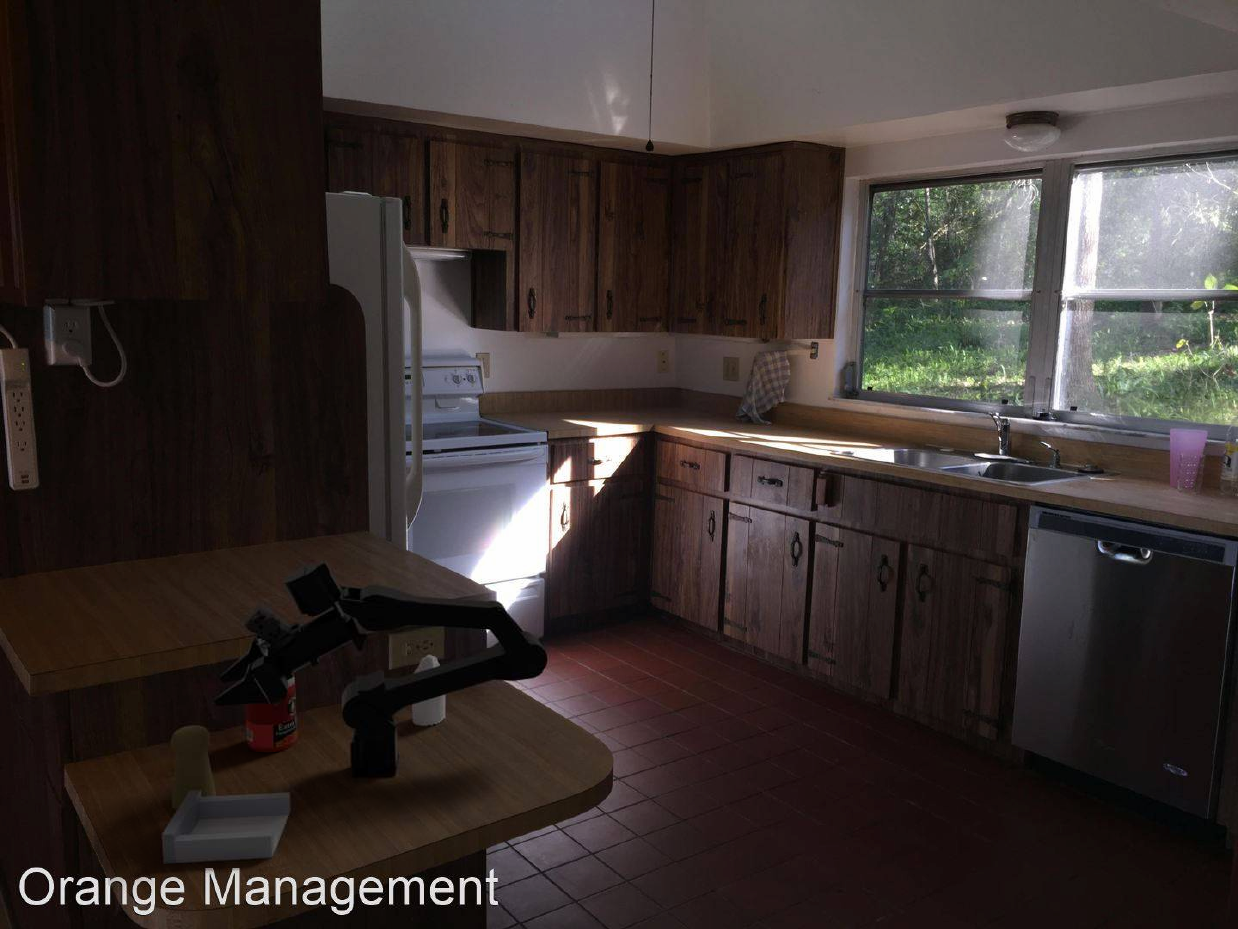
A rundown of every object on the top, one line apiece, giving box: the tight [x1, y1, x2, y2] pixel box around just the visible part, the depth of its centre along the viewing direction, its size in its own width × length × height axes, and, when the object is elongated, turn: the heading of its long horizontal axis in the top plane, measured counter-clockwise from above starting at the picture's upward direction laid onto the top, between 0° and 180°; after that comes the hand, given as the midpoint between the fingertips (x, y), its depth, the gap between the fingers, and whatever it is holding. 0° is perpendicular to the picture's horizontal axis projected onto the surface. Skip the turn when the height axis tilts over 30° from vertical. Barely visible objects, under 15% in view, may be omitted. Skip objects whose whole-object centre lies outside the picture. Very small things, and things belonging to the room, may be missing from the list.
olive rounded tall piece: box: [170, 724, 217, 811], centre depth 146 cm, size 6×6×11 cm
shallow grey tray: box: [161, 790, 291, 865], centre depth 136 cm, size 14×12×4 cm
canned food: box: [244, 676, 298, 753], centre depth 165 cm, size 8×8×11 cm
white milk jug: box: [411, 654, 446, 727], centre depth 175 cm, size 6×12×6 cm
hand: (218, 691), depth 149 cm, fingers open, 9 cm apart
